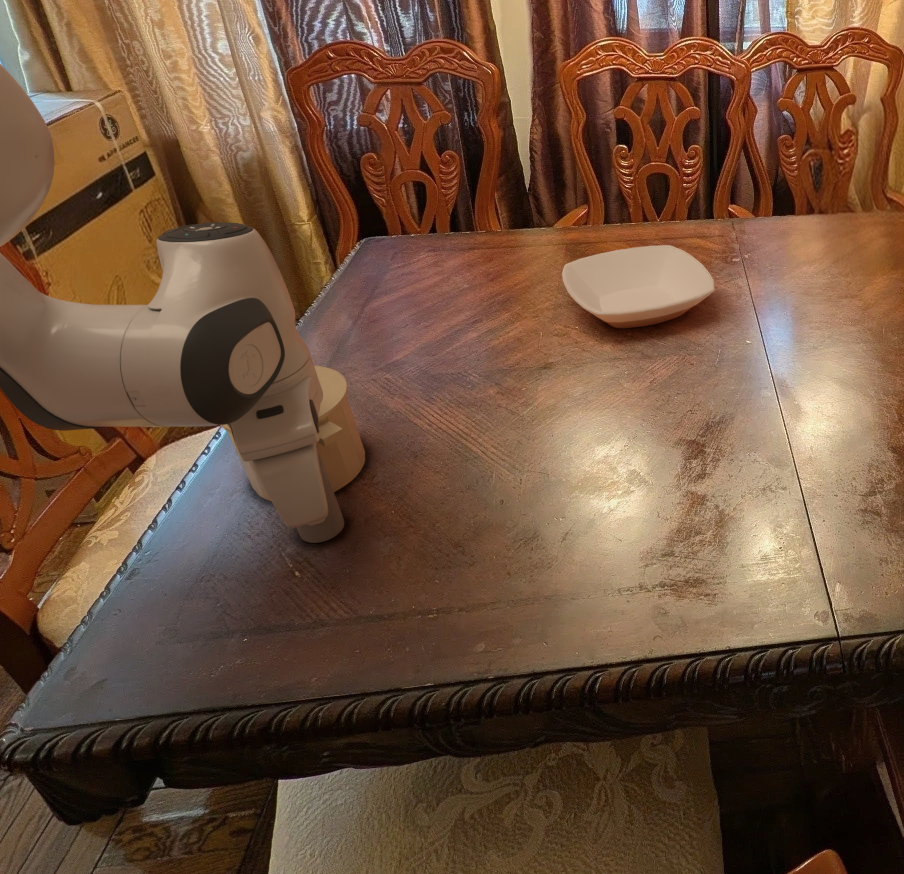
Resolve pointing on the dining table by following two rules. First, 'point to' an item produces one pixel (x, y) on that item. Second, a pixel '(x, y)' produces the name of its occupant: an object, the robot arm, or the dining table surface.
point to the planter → (333, 519)
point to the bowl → (638, 284)
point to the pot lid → (327, 391)
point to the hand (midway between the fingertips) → (312, 502)
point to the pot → (328, 450)
